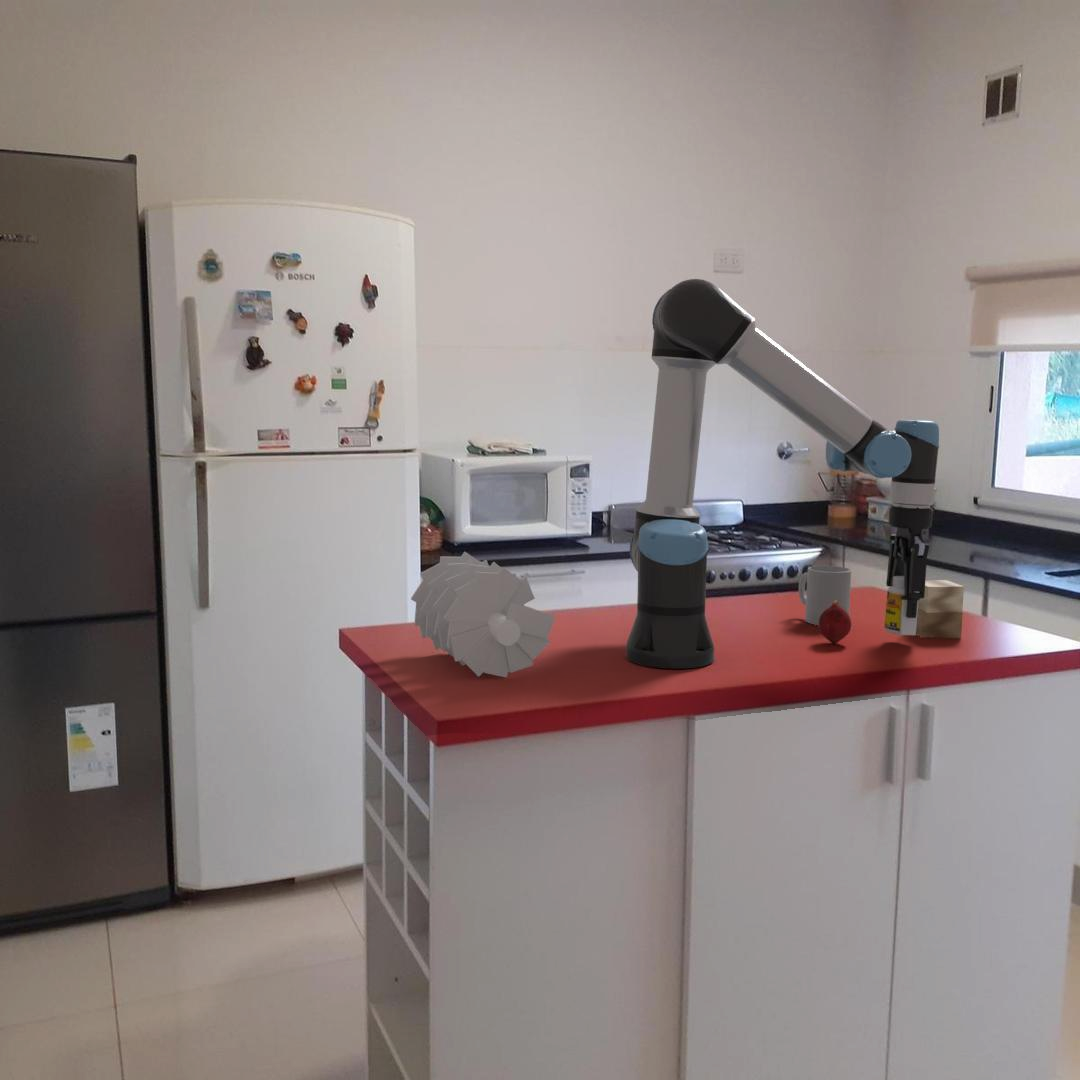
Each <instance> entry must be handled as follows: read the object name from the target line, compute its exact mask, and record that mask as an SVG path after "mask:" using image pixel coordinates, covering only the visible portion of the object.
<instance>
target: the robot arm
mask: <svg viewBox="0 0 1080 1080" xmlns="http://www.w3.org/2000/svg"><path fill="white" fill-rule="evenodd" d="M651 321H652V322H651V323H652V329H653V337H652V338H653V339H652V347H651V348H652V349H651V360H652V361H653V362H654V363H655V365H656V366H657V368H658V371H657V372H658V373H657V382H656V383H657V384H656V393H655V405H654V413H653V423H652V432H651V433H652V434H651V445H650V454H649V464H648V474H647V482H646V483H647V484H646V494H645V500H644V501H643V503H641V504H640V505H639V506H638V507H636V511H635V520H634V529H633V530H634V531H633V535H632V536H631V540H630V542H629V543H630V544H629V555H630V560H631V563H632V565H633V567H634V569H635V570H636V571H637V599H636V600H637V602H636V605H637V606H636V607H637V608H636V616H635V619H634V621H633V624H632V628H631V631H630V632H629V635H628V637H627V641H626V645H625V658H626V659H627V660H628V661H630V662H632V663H634V664H637V665H640V666H646V667H650V668H658V669H659V668H660V669H674V670H675V669H677V670H678V669H692V668H693V669H694V668H700V667H705V666H709V665H710V664H712V663H714V661H715V645H714V642H713V638H712V636H711V631H710V628H709V624H708V622H707V621H708V620H707V618H706V599H707V597H706V596H707V595H706V593H707V566H708V565H707V564H708V563H707V562H708V561H707V560H708V551H709V541H708V533H707V531H706V529H705V528H704V527H703V526H702V525H700V520H701V514H700V513H699V512H698V510H697V509H696V508H695V506H694V499H695V498H694V497H695V487H696V477H697V468H698V458H699V450H700V441H701V440H700V439H701V430H702V421H703V412H704V402H705V401H704V400H705V394H706V384H707V373H708V372H709V370H711V369H712V368H713V367H714V366H715V365H716V364H717V365H723V364H724V365H728V367H730V368H731V369H732V370H734V371H735V372H737V373H738V374H739V375H740V376H742V377H743V378H744V379H746V380H747V381H748V382H750V383H751V384H752V385H754V386H755V387H756V388H758V389H759V390H760V391H761V392H763V393H764V394H765V395H767V396H768V397H769V398H770V399H772V400H773V401H775V402H776V403H777V404H778V405H780V406H781V407H782V408H784V409H785V410H786V411H787V412H788V413H790V414H792V415H793V416H794V417H796V418H797V419H798V420H799V421H801V422H802V423H803V424H804V425H805V426H806V427H808V428H810V429H811V430H812V431H813V432H815V433H817V434H818V435H819V436H820V437H821V438H823V439H824V440H825V441H826V445H825V459H826V460H825V461H826V464H827V467H828V468H829V469H830V470H832V471H842V472H859V473H863V474H866V475H869V476H870V475H871V476H873V477H875V478H879V479H887V478H888V479H889V478H891V480H890V493H889V502H890V503H891V504H892V505H891V506H890V507H889V511H888V513H889V514H888V521H887V522H888V524H889V526H890V527H893V528H897V529H896V531H895V534H889V551H888V552H889V553H888V560H887V561H888V562H887V574H886V583H885V585H886V587H890V586H894V585H893V577H894V576H904V587H905V596H901V600H902V608H901V621H900V633H899V634H898V635H900V636H917V635H916V625H917V613H918V600H920V598H921V599H923V598H924V596H925V580H927V579H926V577H927V575H926V574H927V561H928V554H929V550H930V545H929V543H924V540H923V531H924V530H928V529H930V528H931V527H932V526H933V518H934V517H933V516H934V510H933V508H931V507H930V506H932V505H934V501H935V499H934V498H935V494H936V493H937V492H938V490H937V488H936V487H935V486H936V475H937V466H938V457H939V456H938V455H939V449H940V427H939V424H938V423H937V422H936V421H933V420H917V419H914V420H913V419H898V420H897V421H896V423H895V427H894V429H891V430H889V429H887V428H886V427H885V426H883V425H882V424H881V423H879V422H878V421H876V420H875V419H873V418H872V417H871V416H870V415H869V414H867V412H865V411H864V410H863V409H861V408H860V407H859V406H857V405H856V404H855V403H854V402H852V401H851V400H850V399H848V397H846V396H845V395H843V394H842V393H841V392H839V391H838V390H837V389H836V388H835V387H834V386H832V385H830V384H829V383H828V382H827V381H825V380H824V379H823V378H822V377H820V376H819V375H818V374H816V373H815V372H814V371H813V370H812V369H810V368H808V367H807V366H806V365H805V364H804V363H802V362H801V360H799V359H798V358H796V357H794V355H792V354H790V353H789V352H788V351H787V350H785V349H784V348H783V347H782V346H781V345H779V344H778V343H776V342H775V341H774V340H773V339H772V338H770V337H769V336H768V335H766V334H765V333H764V332H763V331H762V330H760V329H759V328H757V327H756V321H755V317H753V316H752V315H751V314H750V313H749V312H747V311H746V310H745V309H744V308H742V306H741V305H739V304H738V303H736V301H735V300H733V298H731V297H730V296H729V295H728V294H727V293H726V292H724V291H723V290H722V289H721V288H720V287H719V286H717V285H715V284H714V283H712V282H711V281H709V280H704V279H701V278H690V279H685V280H683V281H680V282H678V283H677V284H675V285H674V286H672V287H671V288H669V289H668V290H666V292H664V293H663V294H662V295H661V296H660V298H658V300H657V303H656V304H655V306H654V309H653V313H652V319H651Z"/></svg>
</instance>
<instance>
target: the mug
mask: <svg viewBox="0 0 1080 1080" xmlns="http://www.w3.org/2000/svg"><path fill="white" fill-rule="evenodd" d="M851 578H852V570H851V569H850V568H848V567H845V566H838V565H837V566H836V565H813V566H808V567H807V572H804V573H803V574H802V575H801V576H800V579H799V582H798V598H799V601H800V602H801V603H802V604H804V605H805V615H804V616H805V617H804V620H805V622H806V623H807V622H808V623H811V624H815V625H814V626H816V625H819V619H820V616H821V614H822V613H823V612H824V611H825V610H826V609H827V608H829V607H830V606H832V604H833V601H838V602H839V605H840V607H842V608H843V609H844V610H845V611H846V612H847V613H848V615H849V616H850V608H851V607H850V605H851V604H850V603H851V582H852V579H851ZM808 623H807V624H808ZM811 624H810V625H811Z"/></svg>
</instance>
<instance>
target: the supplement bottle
mask: <svg viewBox="0 0 1080 1080" xmlns="http://www.w3.org/2000/svg"><path fill="white" fill-rule="evenodd" d="M893 585H894V586H888V588H887V590H886V593H887V594H886V604H885V615H884V630H885V631H886V632H887V633H891V634H894V635H895V634H896V635H900V634H899V633H900V621H901V608H902V600H901V596H905V587H904V576H894V577H893ZM918 602H919V600H918Z"/></svg>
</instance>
